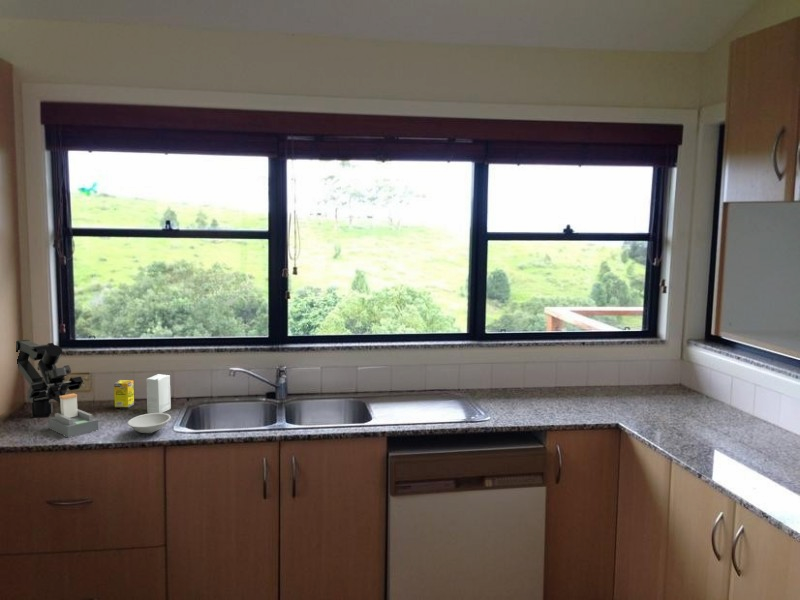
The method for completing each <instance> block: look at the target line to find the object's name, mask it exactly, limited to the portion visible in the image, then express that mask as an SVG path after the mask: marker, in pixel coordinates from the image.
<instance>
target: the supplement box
mask: <svg viewBox="0 0 800 600" xmlns="http://www.w3.org/2000/svg"><path fill="white" fill-rule="evenodd" d="M134 387H135V386H134V380H133V379H132V380H131V379H130V380H129V379H127V380H126V379H119V380H118V381H116V382H114V383H113V392H114V393H113V395H114V397H113V398H114V399H113V400H114V409H116V408H120V409H122V410H123V409H124V410H125V409H128V408H129V409H130V408H132V407H133V406H135V395H134V394H135V391H134ZM120 409H119V410H120ZM129 409H128V410H129Z"/></svg>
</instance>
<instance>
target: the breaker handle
mask: <svg viewBox="0 0 800 600" xmlns="http://www.w3.org/2000/svg"><path fill="white" fill-rule="evenodd" d="M59 398H60V403H59V404H60V414H62V415H64V416H66V417H69V418H71V417H75V416H78V410H77V409H78V394H77V393H74V392H73V393H68V394H65V395H62V396H59Z"/></svg>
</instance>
